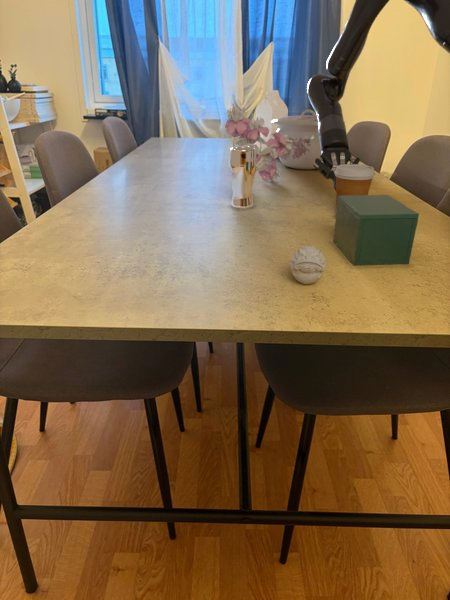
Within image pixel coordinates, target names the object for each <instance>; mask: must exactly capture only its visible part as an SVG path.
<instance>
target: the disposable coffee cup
mask: <svg viewBox="0 0 450 600" xmlns="http://www.w3.org/2000/svg"><path fill="white" fill-rule="evenodd" d="M334 173H335V176H336V190H335V205H336V206H335V214H336V213H337V205H338V200H337V198H338V196H354V195H369V192H370V188H371V186H372V181H373V179H374V176H376V173H375V168H374V167H373V166H370V165H367V164H359V163H358V164H350V163H347V164H344V165H339V166H337V169H336V171H335V172H334Z"/></svg>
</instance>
